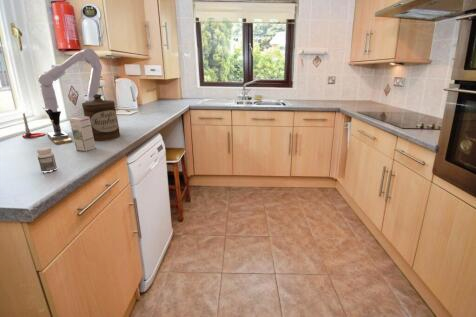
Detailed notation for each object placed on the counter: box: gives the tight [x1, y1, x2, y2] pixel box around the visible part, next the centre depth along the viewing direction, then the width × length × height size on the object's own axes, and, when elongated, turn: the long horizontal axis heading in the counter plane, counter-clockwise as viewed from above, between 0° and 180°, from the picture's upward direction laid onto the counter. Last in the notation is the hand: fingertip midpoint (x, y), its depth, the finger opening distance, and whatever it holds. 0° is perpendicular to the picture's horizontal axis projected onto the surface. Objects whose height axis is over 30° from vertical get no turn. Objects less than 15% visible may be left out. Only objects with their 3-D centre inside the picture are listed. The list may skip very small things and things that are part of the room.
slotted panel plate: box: [47, 130, 73, 145], centre depth 140 cm, size 7×19×2 cm, turn 42°
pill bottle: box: [36, 146, 58, 172], centre depth 98 cm, size 5×5×8 cm
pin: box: [50, 120, 62, 132], centre depth 150 cm, size 4×4×8 cm
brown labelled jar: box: [81, 93, 121, 142], centre depth 139 cm, size 15×15×22 cm
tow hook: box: [22, 112, 46, 139], centre depth 146 cm, size 8×13×9 cm
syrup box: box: [68, 115, 97, 152], centre depth 121 cm, size 6×6×14 cm
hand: (55, 123), depth 150 cm, fingers open, 7 cm apart
